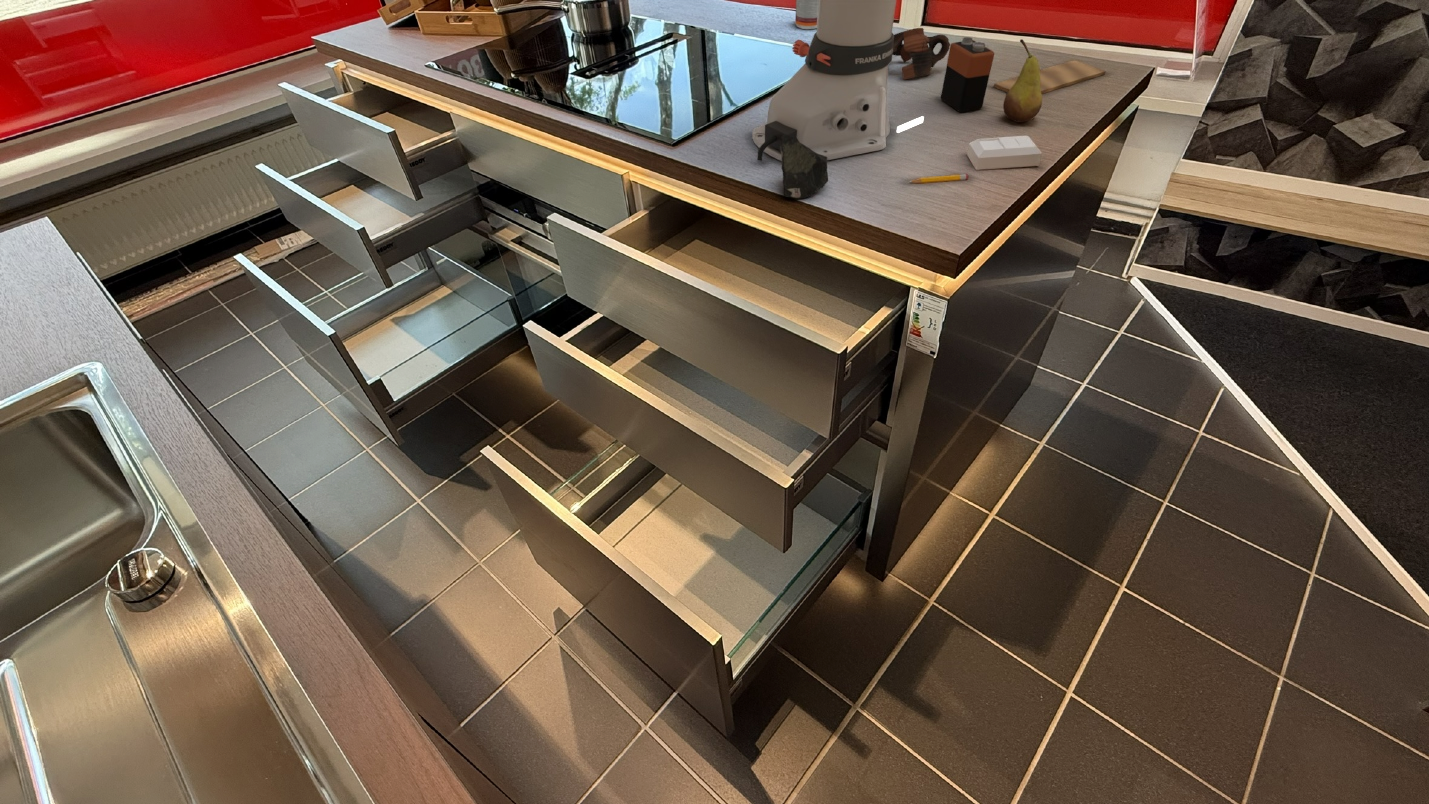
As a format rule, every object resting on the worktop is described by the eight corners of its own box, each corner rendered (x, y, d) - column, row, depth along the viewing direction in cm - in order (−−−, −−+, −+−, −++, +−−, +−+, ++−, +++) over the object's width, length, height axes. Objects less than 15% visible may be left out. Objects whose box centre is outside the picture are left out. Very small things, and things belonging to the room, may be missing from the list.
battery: (959, 113, 113) (973, 49, 106) (939, 99, 118) (950, 36, 111) (983, 109, 114) (997, 45, 107) (961, 95, 119) (974, 33, 112)
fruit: (1022, 130, 108) (1045, 49, 99) (992, 119, 111) (1011, 39, 103) (1044, 120, 110) (1068, 40, 102) (1014, 110, 113) (1035, 31, 105)
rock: (831, 132, 95) (825, 150, 100) (781, 131, 95) (778, 149, 100) (831, 193, 93) (826, 209, 98) (781, 193, 94) (778, 208, 98)
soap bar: (1038, 165, 99) (1043, 147, 97) (976, 169, 99) (979, 152, 97) (1027, 150, 102) (1032, 133, 101) (966, 154, 103) (970, 137, 101)
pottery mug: (888, 85, 125) (880, 36, 123) (885, 91, 134) (877, 46, 131) (956, 65, 122) (949, 15, 120) (948, 72, 131) (942, 26, 129)
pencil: (968, 177, 97) (967, 173, 97) (909, 181, 97) (908, 178, 97) (967, 180, 98) (965, 177, 98) (908, 185, 98) (907, 181, 98)
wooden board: (1023, 99, 116) (1024, 95, 116) (993, 87, 121) (994, 83, 120) (1104, 74, 123) (1106, 70, 122) (1073, 63, 127) (1074, 59, 127)
